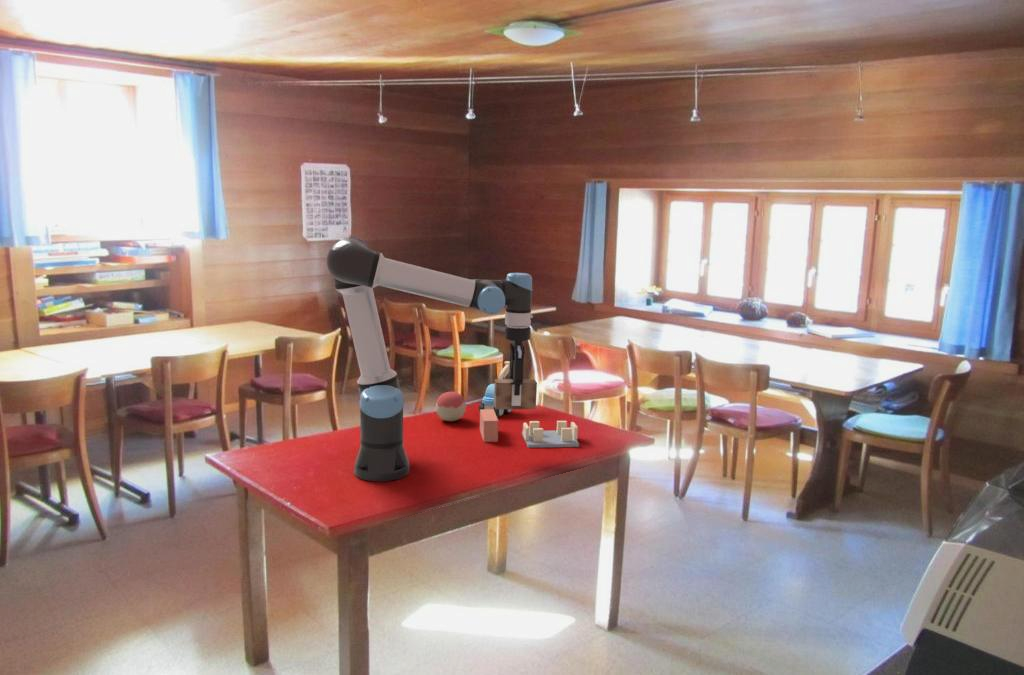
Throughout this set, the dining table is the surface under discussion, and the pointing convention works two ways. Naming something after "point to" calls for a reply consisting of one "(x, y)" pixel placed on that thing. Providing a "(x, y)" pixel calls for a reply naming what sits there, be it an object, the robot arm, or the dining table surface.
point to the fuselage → (505, 394)
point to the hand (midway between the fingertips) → (514, 402)
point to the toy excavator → (489, 395)
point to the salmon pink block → (489, 425)
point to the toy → (450, 406)
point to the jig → (550, 435)
